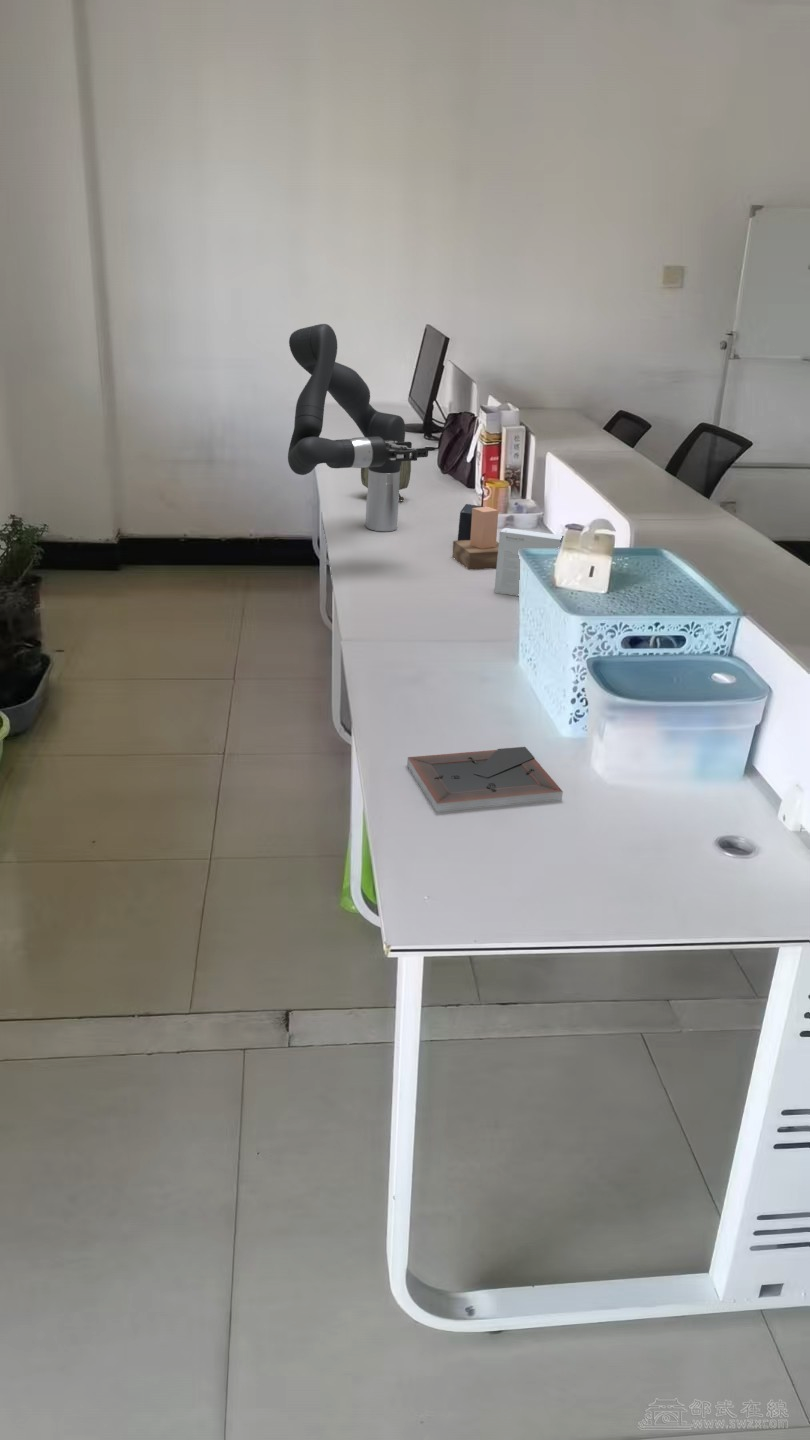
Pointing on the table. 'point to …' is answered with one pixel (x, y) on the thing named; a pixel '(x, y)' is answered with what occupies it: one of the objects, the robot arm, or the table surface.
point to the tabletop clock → (404, 476)
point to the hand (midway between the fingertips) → (419, 449)
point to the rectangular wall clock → (483, 779)
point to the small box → (465, 522)
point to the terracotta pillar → (484, 527)
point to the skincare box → (509, 555)
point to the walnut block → (475, 555)
